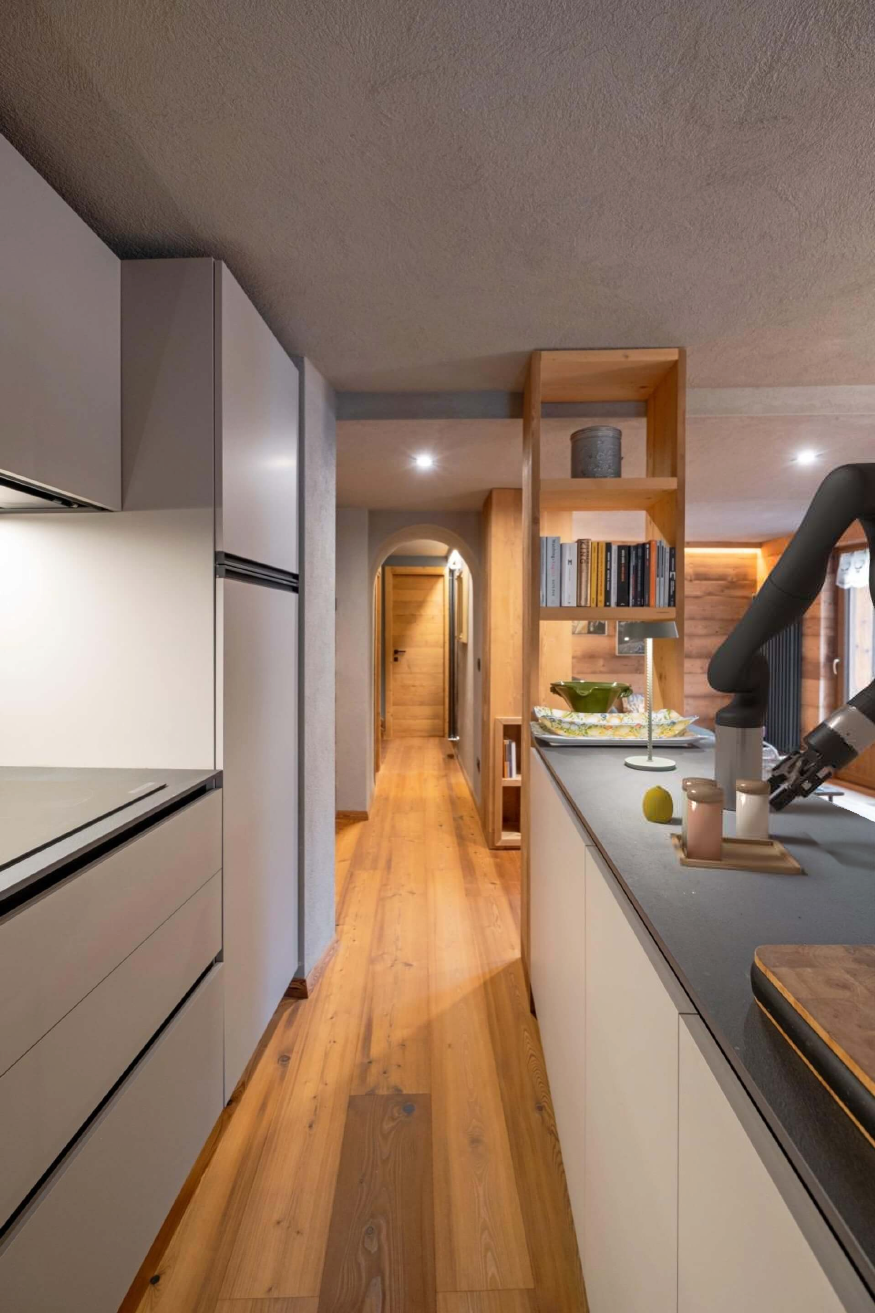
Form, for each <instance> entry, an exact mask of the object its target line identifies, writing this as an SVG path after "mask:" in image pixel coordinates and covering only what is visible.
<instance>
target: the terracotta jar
mask: <svg viewBox="0 0 875 1313" xmlns="http://www.w3.org/2000/svg"><path fill="white" fill-rule="evenodd" d="M687 798H688V799H687V851H686V857H687V858H688V859H695V860H709V861H722V837H724V836H723V835H724V834H723V833H724V832H723V830H724V829H723V828H724V827H723V826H724V820H723V819H724V808H723V801H724V789H722V788H720V787H716V786H710V785H690V786H688V787H687Z"/></svg>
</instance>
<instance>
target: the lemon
mask: <svg viewBox="0 0 875 1313" xmlns="http://www.w3.org/2000/svg"><path fill="white" fill-rule="evenodd" d="M642 811H643V812H642V814H643V815H644V817H645V819H646V820H647V821H649V822H650V823H656V824H657V823H658V824H664V823H665V824H666V823H668V822H669V821H670V820H671V819H672V817H673V814H674V801H673V798H672V796H671V794H670V792H669V791H668V790H666V789H665V788H663V787H662V786H661V785H655V787H652V788H649V789H648V790H647V791H646V792H645V794H644V797H643V800H642Z"/></svg>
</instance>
